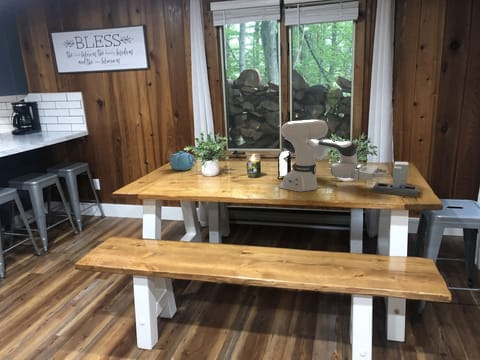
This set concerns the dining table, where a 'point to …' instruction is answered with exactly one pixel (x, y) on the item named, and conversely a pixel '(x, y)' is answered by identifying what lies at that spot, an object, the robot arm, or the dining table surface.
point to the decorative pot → (181, 161)
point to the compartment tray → (396, 189)
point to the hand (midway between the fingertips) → (384, 173)
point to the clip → (396, 177)
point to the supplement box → (403, 171)
